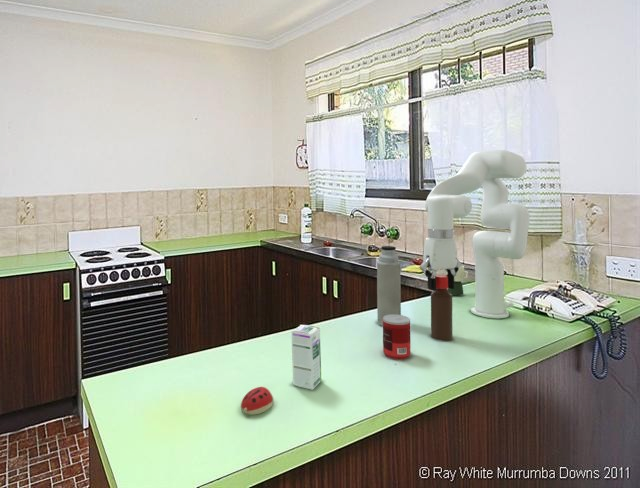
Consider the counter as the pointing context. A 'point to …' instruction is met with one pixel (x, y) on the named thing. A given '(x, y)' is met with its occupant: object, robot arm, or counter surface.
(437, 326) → the bottle
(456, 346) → the counter surface
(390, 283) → the thermos bottle
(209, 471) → the counter surface
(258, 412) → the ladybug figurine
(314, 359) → the syrup box
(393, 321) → the canned food
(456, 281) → the character mug
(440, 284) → the cap
